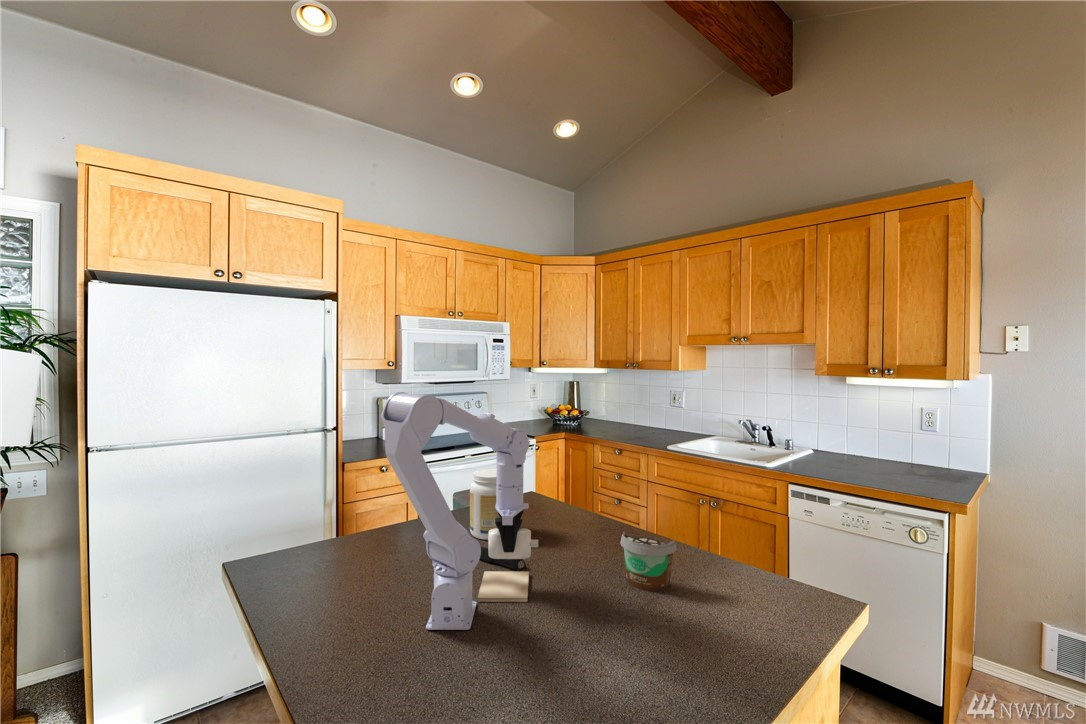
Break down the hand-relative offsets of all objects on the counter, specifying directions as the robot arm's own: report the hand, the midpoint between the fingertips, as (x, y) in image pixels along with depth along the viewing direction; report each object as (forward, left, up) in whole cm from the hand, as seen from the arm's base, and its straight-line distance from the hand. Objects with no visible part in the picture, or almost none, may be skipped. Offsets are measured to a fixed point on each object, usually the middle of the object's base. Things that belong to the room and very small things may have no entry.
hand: (509, 547), depth 104 cm
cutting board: (0, +1, -9) cm, 9 cm away
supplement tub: (+32, +7, -9) cm, 34 cm away
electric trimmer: (+13, +4, -9) cm, 16 cm away
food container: (+1, -29, -9) cm, 30 cm away
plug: (0, 0, -2) cm, 2 cm away
